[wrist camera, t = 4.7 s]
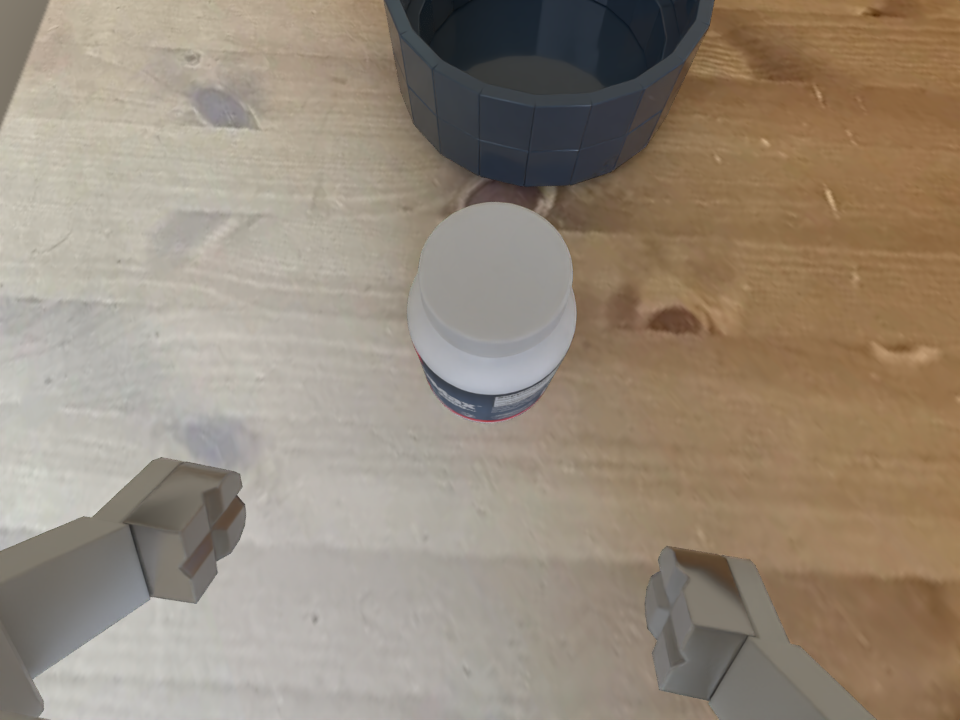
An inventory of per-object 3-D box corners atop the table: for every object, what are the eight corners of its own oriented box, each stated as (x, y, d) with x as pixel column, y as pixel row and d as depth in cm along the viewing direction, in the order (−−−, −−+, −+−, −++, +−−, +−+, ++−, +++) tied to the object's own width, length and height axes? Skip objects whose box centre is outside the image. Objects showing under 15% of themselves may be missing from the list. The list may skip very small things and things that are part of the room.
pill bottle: (402, 344, 22) (352, 236, 13) (505, 283, 23) (521, 145, 14) (468, 450, 20) (460, 407, 12) (575, 382, 21) (639, 296, 13)
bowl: (548, -54, 28) (564, -183, 23) (722, 99, 25) (785, -9, 20) (350, 64, 26) (317, -50, 21) (516, 247, 23) (528, 169, 18)
